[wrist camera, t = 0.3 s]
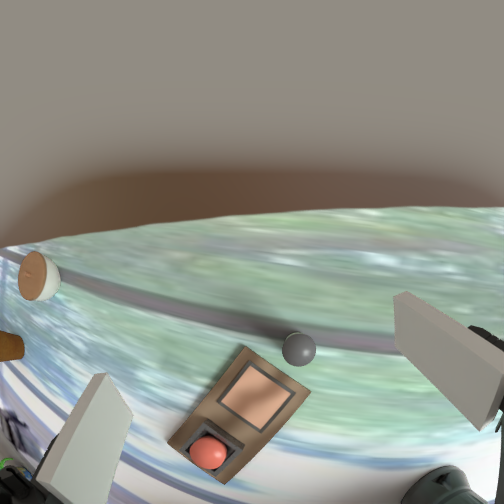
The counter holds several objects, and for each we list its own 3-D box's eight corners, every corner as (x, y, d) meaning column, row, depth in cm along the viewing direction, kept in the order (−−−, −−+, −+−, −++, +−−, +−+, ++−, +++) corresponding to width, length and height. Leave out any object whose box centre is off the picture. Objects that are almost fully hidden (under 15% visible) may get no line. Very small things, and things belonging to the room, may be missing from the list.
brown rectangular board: (310, 390, 40) (311, 392, 39) (225, 482, 37) (224, 485, 36) (246, 346, 44) (244, 346, 43) (169, 441, 40) (166, 443, 39)
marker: (314, 341, 43) (322, 345, 31) (299, 361, 42) (302, 372, 31) (294, 327, 44) (295, 327, 32) (279, 347, 43) (275, 354, 32)
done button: (234, 449, 36) (230, 455, 34) (214, 468, 36) (211, 474, 33) (206, 429, 38) (201, 434, 36) (188, 449, 37) (183, 454, 35)
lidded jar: (45, 258, 55) (18, 247, 46) (71, 262, 53) (42, 251, 44) (37, 300, 52) (9, 293, 43) (62, 309, 50) (33, 303, 41)
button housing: (245, 444, 38) (242, 450, 36) (219, 471, 37) (215, 477, 35) (207, 418, 40) (203, 422, 38) (183, 445, 39) (178, 450, 37)
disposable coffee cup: (31, 343, 49) (-5, 339, 38) (23, 372, 48) (-11, 372, 36) (15, 322, 52) (-18, 317, 40) (8, 350, 50) (-24, 348, 38)
